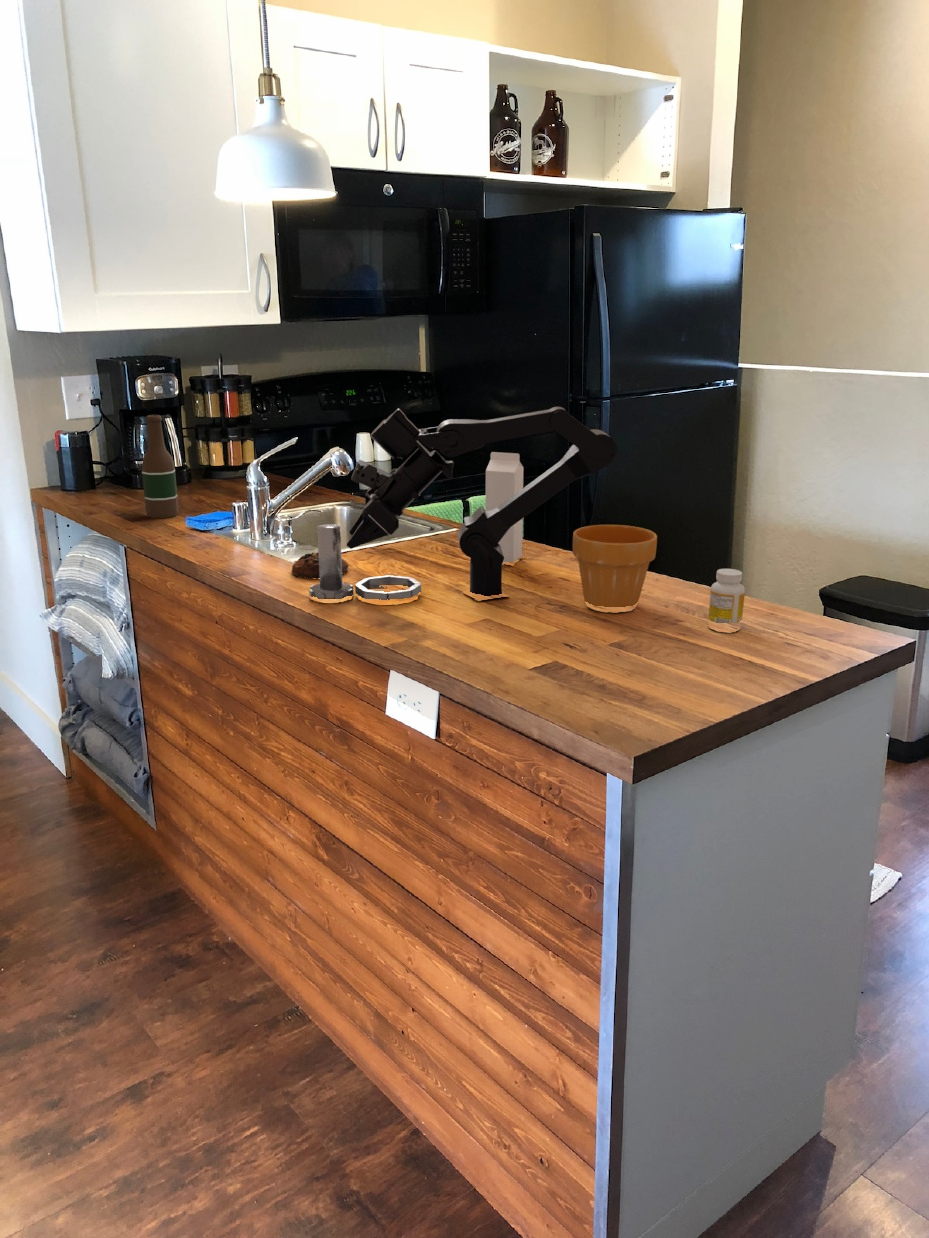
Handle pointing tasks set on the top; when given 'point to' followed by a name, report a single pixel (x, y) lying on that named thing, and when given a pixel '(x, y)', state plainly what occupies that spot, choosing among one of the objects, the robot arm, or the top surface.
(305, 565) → the bread roll
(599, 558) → the flower pot
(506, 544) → the milk
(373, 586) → the grey octagonal ring
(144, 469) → the beer bottle
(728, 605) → the supplement bottle
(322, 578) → the grey cylinder with base
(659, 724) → the top surface
